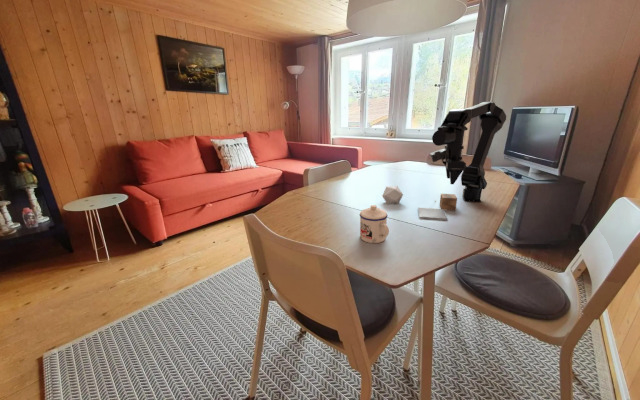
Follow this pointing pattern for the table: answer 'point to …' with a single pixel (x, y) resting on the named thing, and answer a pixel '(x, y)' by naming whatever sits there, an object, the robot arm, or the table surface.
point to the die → (392, 195)
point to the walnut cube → (448, 202)
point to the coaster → (432, 213)
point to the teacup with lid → (373, 225)
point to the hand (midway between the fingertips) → (450, 181)
